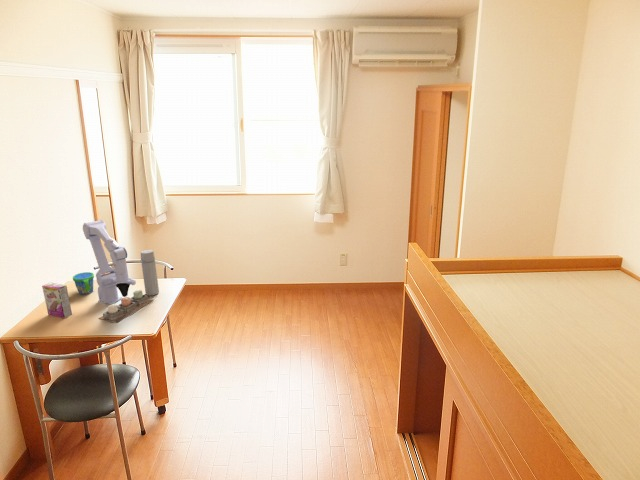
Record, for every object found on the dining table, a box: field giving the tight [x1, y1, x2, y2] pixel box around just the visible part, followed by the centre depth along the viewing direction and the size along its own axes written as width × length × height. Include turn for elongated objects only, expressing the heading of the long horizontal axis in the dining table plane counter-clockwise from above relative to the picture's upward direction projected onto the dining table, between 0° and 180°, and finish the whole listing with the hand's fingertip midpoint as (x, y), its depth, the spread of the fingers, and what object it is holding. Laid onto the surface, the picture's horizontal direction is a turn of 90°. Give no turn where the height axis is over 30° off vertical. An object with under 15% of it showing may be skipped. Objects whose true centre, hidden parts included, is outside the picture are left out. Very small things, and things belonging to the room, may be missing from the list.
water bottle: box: [139, 249, 160, 296], centre depth 249 cm, size 9×8×25 cm
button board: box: [98, 294, 154, 324], centre depth 233 cm, size 12×26×3 cm, turn 160°
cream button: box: [107, 303, 118, 315], centre depth 224 cm, size 4×4×4 cm
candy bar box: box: [42, 282, 73, 319], centre depth 226 cm, size 11×5×16 cm, turn 71°
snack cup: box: [72, 271, 95, 295], centre depth 253 cm, size 16×10×10 cm
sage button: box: [133, 290, 144, 300], centre depth 240 cm, size 4×4×4 cm
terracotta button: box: [120, 296, 131, 307], centre depth 232 cm, size 4×4×4 cm
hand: (125, 296), depth 231 cm, fingers closed
